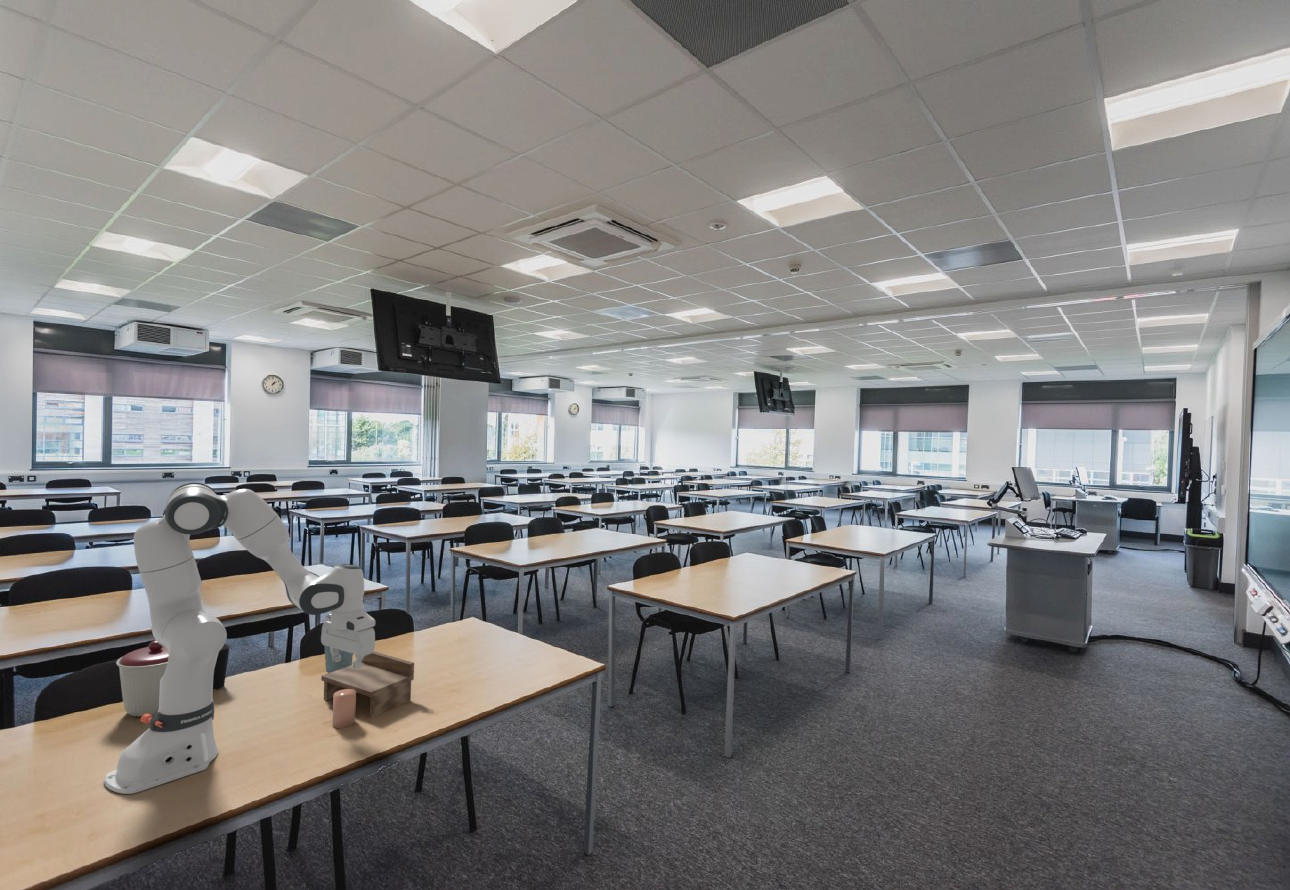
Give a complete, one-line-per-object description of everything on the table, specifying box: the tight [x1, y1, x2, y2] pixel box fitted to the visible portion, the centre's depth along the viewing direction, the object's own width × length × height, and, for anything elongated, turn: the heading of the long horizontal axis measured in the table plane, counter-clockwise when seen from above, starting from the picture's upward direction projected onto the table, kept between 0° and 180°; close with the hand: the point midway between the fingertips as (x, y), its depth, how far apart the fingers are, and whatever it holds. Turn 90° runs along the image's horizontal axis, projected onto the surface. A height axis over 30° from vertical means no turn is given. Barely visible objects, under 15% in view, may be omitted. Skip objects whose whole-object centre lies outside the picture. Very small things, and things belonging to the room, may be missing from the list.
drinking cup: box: [213, 642, 231, 691], centre depth 198 cm, size 8×8×20 cm
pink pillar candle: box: [332, 689, 357, 729], centre depth 177 cm, size 6×6×9 cm
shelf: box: [320, 650, 415, 718], centre depth 193 cm, size 16×24×12 cm, turn 62°
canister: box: [115, 640, 169, 718], centre depth 181 cm, size 18×18×21 cm
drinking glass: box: [323, 645, 354, 673], centre depth 218 cm, size 10×10×12 cm
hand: (346, 664), depth 177 cm, fingers open, 8 cm apart
